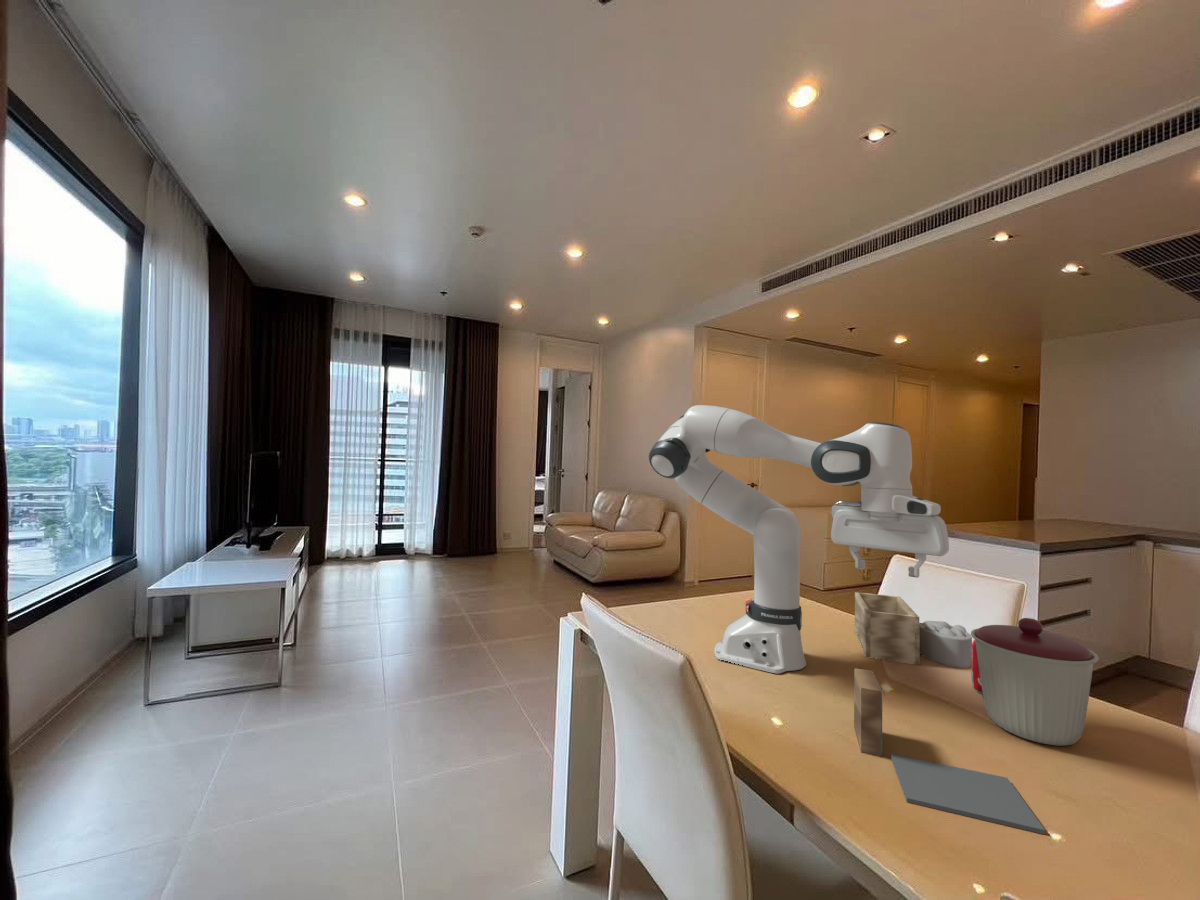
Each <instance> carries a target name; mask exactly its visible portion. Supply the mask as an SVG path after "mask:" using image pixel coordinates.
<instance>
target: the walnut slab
mask: <svg viewBox="0 0 1200 900" xmlns="http://www.w3.org/2000/svg"><path fill="white" fill-rule="evenodd" d="M853 671H854V672H853V675H854V679H853V680H854V683H853V685H854V687H853V689H854V690H853V691H854V692H853V694H854V695H853V696H854V697H853V700H854V702H853V705H854V707H853V712H854V713H853V728H854V731H855V735H856V736H855V737H856V739H857V742H858V746H859V750H860V753H861V754H865V755H871V756H875V757H880V758H881V757H882V755H883V691H882V688H881V687H880V684H879V682H878V679H877V677H876V675H875V673H874V672H873V671H872V670H867V669H863V668H862V669H861V668H856V667H855V668H854V670H853Z"/></svg>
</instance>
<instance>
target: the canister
mask: <svg viewBox="0 0 1200 900" xmlns="http://www.w3.org/2000/svg"><path fill="white" fill-rule="evenodd" d="M1043 629H1044V626H1043V624H1042V623H1041V622H1040V621H1039V620H1037V619H1035V618H1031V617H1030V618H1029V617H1023V618H1022V617H1021V618H1020V619H1019V620H1018V622H1017V625H1009V624H1006V625H1005V624H989V625H983V626H981V627H978V628H974V629H972V631H971V632H970V635H971V637H972V639H973V640H975V642H976V650H977V657H978V665H979V672H980V679H981V686H982V692H983V695H982V696H983V698H982V699H983V701H984V703H983V704H984V707H985V711H986V712H987V715H988V716H989V718H990V719H991V721H992V722H994V723H995V724H996V725H997V726H998V727H1000V728H1001V729H1003V730H1004V731H1007V732H1008V733H1009V734H1013V735H1014V736H1017V737H1019V738H1023V739H1025V740H1027V741H1032V742H1036V743H1038V744H1044V745H1049V746H1057V747H1059V746H1060V747H1064V746H1065V747H1066V746H1070V745H1074V744H1075V743H1078V741H1079V740H1080V738H1081V737H1082V735H1083V732H1084V729H1085V724H1086V718H1087V711H1088V706H1089V699H1090V698H1089V697H1090V693H1091V692H1090V691H1091V685H1092V684H1091V683H1092V676H1093V668H1094V664H1096V663H1097V662H1098V661H1099V655H1098V654H1097V652H1094V651H1093V650H1091V649H1089V648H1088V647H1086V646H1085V645H1084V644H1082V643H1081V642H1078V641H1077V640H1074V639H1071V638H1069V637H1067V636H1063V635H1060V634H1057V633H1053V632H1049V631H1044V630H1043Z"/></svg>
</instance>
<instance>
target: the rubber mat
mask: <svg viewBox="0 0 1200 900" xmlns="http://www.w3.org/2000/svg"><path fill="white" fill-rule="evenodd" d="M889 754H890V759H891V762H892V765H893V768H894V771H895V774H896V776H897V779H898V780H899V784H900V786H901V790H902V792H903V795H904V798H905V801H906V803H908V804H909V803H910V804H914V805H918V806H922V807H927V808H931V809H935V810H938V811H943V812H948V813H953V814H956V815H960V816H964V817H969V818H974V819H977V820H981V821H986V822H990V823H992V824H993V823H994V824H998V825H1003V826H1007V827H1011V828H1015V829H1020V830H1024V831H1028V832H1033V833H1037V834H1041V835H1046V829H1045V827H1043V825H1042V823H1041V822H1040V821H1039V820H1038V818H1037V817H1036V815H1035V814H1034V812H1033V811H1032V809H1031V808H1030V807H1029V805H1028V804H1027V802H1026V801H1025V800H1024V798H1022V796H1021V795H1020V793H1019V791H1018V790H1017V789H1016V788H1015V786H1014V785H1013V784H1012V782H1011V781H1010V779H1009V778H1008V777H1005V776H1001V775H996V774H992V773H986V772H982V771H976V770H972V769H967V768H961V767H958V766H952V765H947V764H944V763H938V762H933V761H930V760H929V761H928V760H924V759H919V758H915V757H910V756H909V757H908V756H906V755H905V756H904V755H899V754H896V753H889Z"/></svg>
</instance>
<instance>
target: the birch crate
mask: <svg viewBox="0 0 1200 900" xmlns="http://www.w3.org/2000/svg"><path fill="white" fill-rule="evenodd" d="M919 623H920V616H918V614H917V613H916V612H915V611H914V610H913V609H912V607H910V606H909V604H908V603H907V602H906V601H905V600H904V599H903V598H902V597H901V596H895V595H885V594H879V593H878V594H875V593H866V592H855V591H854V632H855V631H856V633H857V636H858V638H859V640H858V642H859V641H860V642H859V644H860V643H861V645H860V647H861V646H862V647H861V649H862V648H863V649H862V652H863V651H864V652H863V654H864V653H865V654H864V656H865V655H866V656H865V658H866V657H871V658H870V659H873V658H877V659H876V660H880V659H883V660H882V661H887V660H888V662H894V663H900V664H901V663H902V664H909V665H915V666H920V665H921V664H920V658H921V657H920V656H921V654H920V641H919ZM856 633H855V634H856ZM857 636H856V637H857ZM858 638H857V639H858Z"/></svg>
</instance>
